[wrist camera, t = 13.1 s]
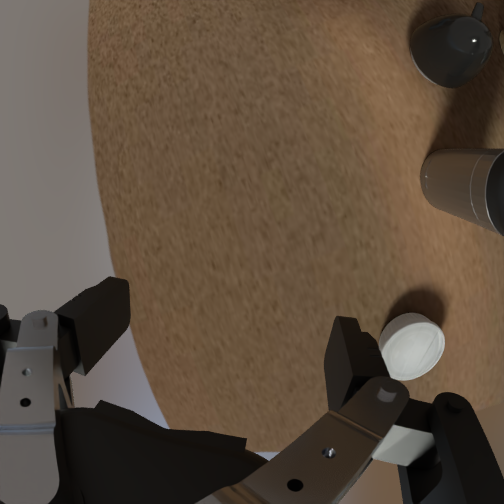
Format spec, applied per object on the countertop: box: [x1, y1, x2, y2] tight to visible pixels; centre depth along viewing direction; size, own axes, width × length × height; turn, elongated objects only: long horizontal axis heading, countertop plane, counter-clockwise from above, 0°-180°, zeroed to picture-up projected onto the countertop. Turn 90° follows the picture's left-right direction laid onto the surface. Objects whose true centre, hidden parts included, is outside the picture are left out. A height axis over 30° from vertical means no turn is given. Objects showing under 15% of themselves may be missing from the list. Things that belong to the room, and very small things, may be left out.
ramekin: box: [379, 313, 445, 380], centre depth 44 cm, size 11×11×5 cm
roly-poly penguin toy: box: [410, 2, 493, 88], centre depth 26 cm, size 10×10×15 cm
